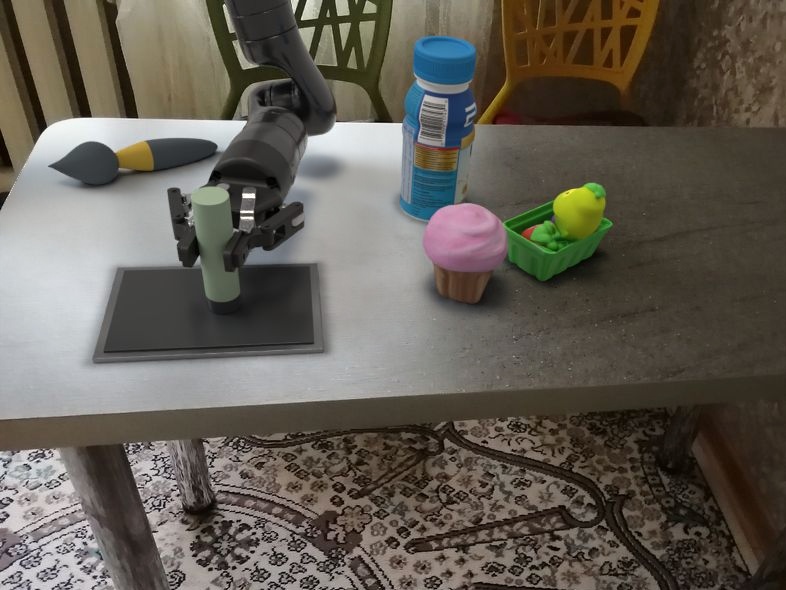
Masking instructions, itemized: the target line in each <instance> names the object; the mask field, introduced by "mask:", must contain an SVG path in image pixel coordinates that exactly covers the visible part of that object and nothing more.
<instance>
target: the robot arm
mask: <svg viewBox="0 0 786 590" xmlns="http://www.w3.org/2000/svg"><path fill="white" fill-rule="evenodd" d="M223 2H224V4H225V7H226V10H227V14H228V16H229V19H230V23H231V25H232V28H233V31H234V34H235V37H236V39H237V42H238V44H239V48H240V50H241V53H242V55H243V57H244V58H245V60H246V61H247V62H248V63H249V64H251V65H254V66H260V67H270V68H276V69H278V70H281V71H283V72H284V73H285V74H286V75H287V76H288V77H289V78H286V79H279V80H274V81H267V82H264V83H261V84H258V85H257V86H255V87H254V88H252V90H250V92H249V93H248V96H247V117H246V123H245V125H244V126H243V128H242V129H241V131H240V132H238V134H236V136H234V138H233V139H232V140H231V141H230V142H229V144H228V146H227V148H226V149H225V151H224V152H223V153H222V155H221V156H220V158H219V159H218V161H217V163H216V164H215V165H214V167H213V169H212V170H211V173H210V175H209V178H208V181H207V183H206V184H204V185H202V186H200V187H199V188H198V189H200V188H203V187H219V188H222V189H224V190H226V191H227V192H228V193H229V198H230V207H231V215H232V224H233V232H234V233H233V236H232V238H230V240H229V242H228V244H227V246H226V248H225V250H224V252H223V261H224V268H225V272H233V273H234V271H235V269H236V268H240V267H242V266H243V265H245V263H246V261H247V259H248V258H249V255H250V253H253V252H254V251H255V249H257V248H261V249H262V250H263V251H264V252H272V251H274V250H276V249H277V248H279V246H281V245H282V244H284V243H285V242H286V241H287V240H289V239H290V238H292V237H293V236H294V235H296V234H297V233H299V232H300V231H301V230H302V229H304V228H305V211H304V210H305V209H304V203H303V202H301V201H292V202H290V203H289V204H287V203H285V201H286V199H287V197H288V195H289V192H290V191H291V188H292V186H293V185H294V184H295V182H296V176H297V173H298V169H299V165H300V164H301V162H302V159H303V157H304V155H305V153H306V150H307V147H308V143H309V141H308V140H309V138H312V137H317V136H323V135H326V134H327V133H330V131H331V130H332V129H333V128H334V126H335V124H336V121H337V117H338V107H337V102H336V98H335V96H334V93H333V91H332V89H331V87H330V86H329V84H328V82H327V81H326V80H327V79H325V77H324V76H323V74H322V72H321V70H320V69H319V68H318V66H317V65H316V62H315V61H314V59H313V58H312V55H311V54H310V52H309V49H308V48H307V46H306V44H305V42H304V40H303V38H302V35H301V33H300V30H299V26H298V24H297V21H296V16H295V13H294V11H293V7H292V4H291V1H290V0H223ZM166 194H167V201H168V207H169V214H170V220H171V221H170V222H171V226H172V233H173V237H174V240H175V241H177V243H176V250H177V257H178V262H181V266H183V267H189V268H192V267H193V266H195V264H196V262H197V260H198V259H199V258H200V254H199V248H198V241H197V235H196V229H195V222H194V216H193V215H192V216H191V217H190V213H191V212H193V209H192V203H191V194H192V193H181V189H180V188H179V187H175V186H173V187H169V188H167V190H166ZM189 217H190V218H189ZM234 230H235V231H234ZM236 230H238V231H236Z"/></svg>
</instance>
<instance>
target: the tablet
mask: <svg viewBox="0 0 786 590" xmlns="http://www.w3.org/2000/svg"><path fill="white" fill-rule="evenodd" d="M318 265H319V264H318V263H317V262H314V263H313V262H311V263H268V264H266V263H263V264H260V263H259V264H244V265H243V266H242V267H240V268H238V275H239V284H240V293H241V301H242V304H241V307H240V308H239V309H238V310H237V311H235V312H233V313H230V314H217V313H214V312H212V311H210V310H209V308H208V306H207V300H206V293H205V287H204V280H203V274H202V267H201V265H193V267H192V268H189V267H183V265H174V266H173V265H172V266H171V265H170V266H169V265H168V266H128V267H127V266H125V267H121V266H120V267H117V268H116V271H115V275H114V279H113V282H112V286H111V289H110V293H109V297H108V300H107V304H106V307H105V311H104V315H103V318H102V322H101V326H100V329H99V333H98V336H97V340H96V344H95V348H94V351H93V355H92V358H91V359H92V363H93V364H103V363H104V364H105V363H128V362H147V361H149V362H150V361H172V360H190V359H191V360H192V359H193V360H194V359H212V358H234V357H235V358H236V357H237V358H238V357H257V356H278V355H300V354H302V355H303V354H321V353H324V341H323V327H322V326H323V325H322V324H323V323H322V312H321V311H322V309H321V297H320V281H319V280H320V279H319V266H318Z"/></svg>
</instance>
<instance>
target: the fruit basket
mask: <svg viewBox="0 0 786 590" xmlns="http://www.w3.org/2000/svg"><path fill="white" fill-rule="evenodd" d="M606 196H607V192H606V190H605V188H604V186H602V185H600V184H598V183H596V182H588V183H586V184H584V185H583V186H582V187H578V188H572V189H569V190H565V191H563V192H561V193H559V194H558V195H557V196H556V198H555V199H554V200H551V201H549V202H547V203H544V204H542V205H540V206H538V207H535V208H533V209H530V210H527V211H526V212H524V213H521V214H519V215H517V216H515V217H512V218H509V219H507V220H505V221H502V223H503V225H504V228H505V229H506V232H507V242H508V250H507V254H508V261H509V262H510V263H512V264H514V265H516V266H518V268H520V269H521V270H523V271H524V272H526V273H527V274H529V275H531V276H534V277H535V278H536V279H537V280H539V281H541V282H545V281H547V280H549V279H551V278H552V277H553V276H555V275H558V274H560V273H563V272H564V271H566V270H567V268H570V267H573V266H575V265H578V264H579V263H580V262H581V261H583V260H587V259H588V258H591V257H592V256H593V254H594V253H595V251H596V249H597V248H598V246H599V245H600V243H601V241H602V240H603V238H604V237H605V235H606V233H608V232H609V230H610V229H611V227H612V226H613V223H612V221H610V220H609V219H607V218H606V217H604V210H605V208H606Z"/></svg>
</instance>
